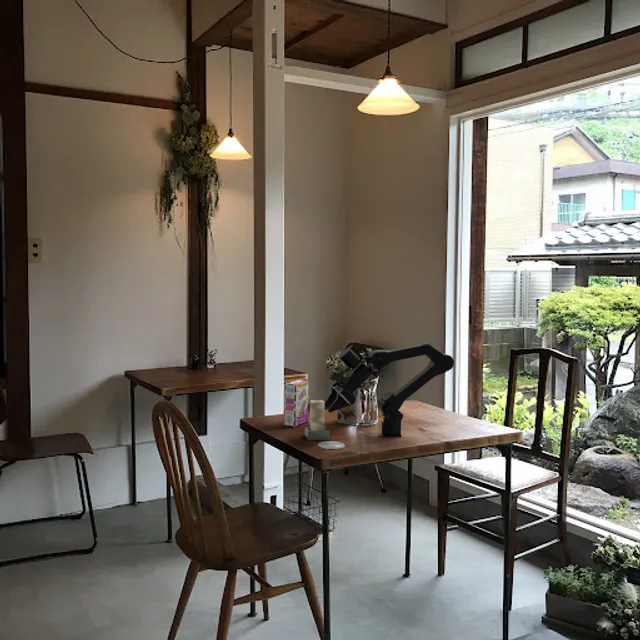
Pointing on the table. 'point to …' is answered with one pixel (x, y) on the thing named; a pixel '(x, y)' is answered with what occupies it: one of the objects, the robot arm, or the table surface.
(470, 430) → the table surface
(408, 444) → the table surface
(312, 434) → the grey square tray
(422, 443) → the table surface
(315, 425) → the birch block
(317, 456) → the table surface
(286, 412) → the candy bar box
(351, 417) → the coffee box
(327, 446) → the ceramic coaster
